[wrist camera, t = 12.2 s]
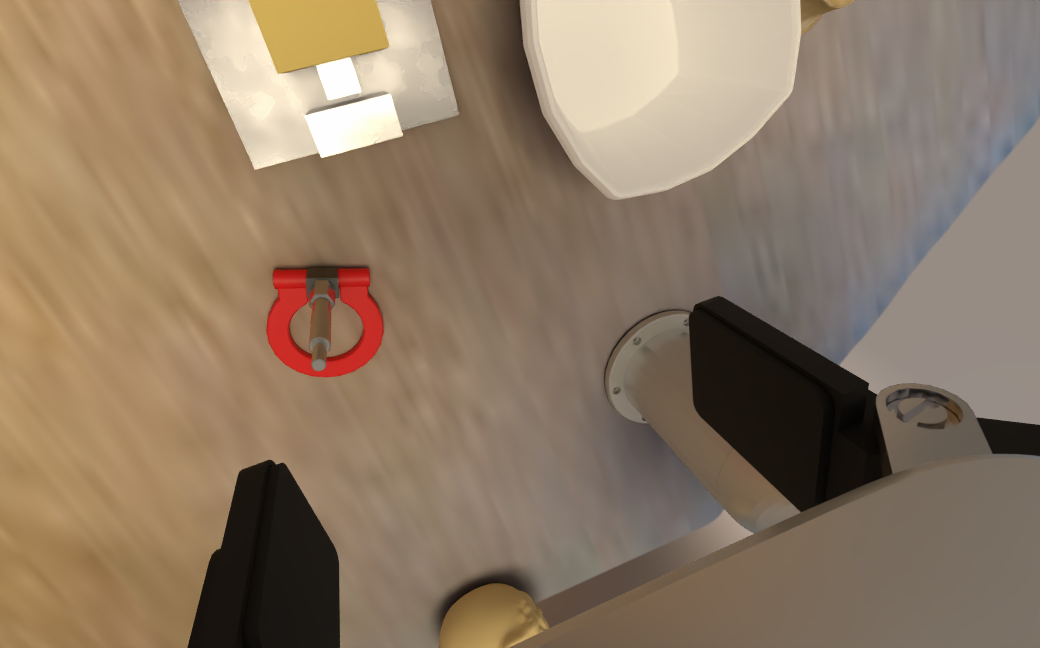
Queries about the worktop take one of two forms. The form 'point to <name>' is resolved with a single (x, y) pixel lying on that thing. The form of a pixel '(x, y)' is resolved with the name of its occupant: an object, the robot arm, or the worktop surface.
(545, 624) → the sculpture
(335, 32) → the notched yellow block
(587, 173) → the bowl
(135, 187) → the worktop surface
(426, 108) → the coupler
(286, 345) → the tow hook
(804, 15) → the hand bell
